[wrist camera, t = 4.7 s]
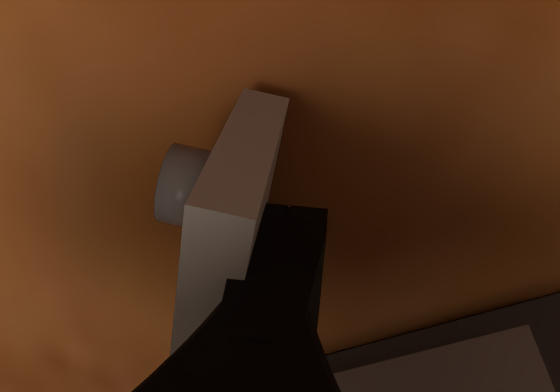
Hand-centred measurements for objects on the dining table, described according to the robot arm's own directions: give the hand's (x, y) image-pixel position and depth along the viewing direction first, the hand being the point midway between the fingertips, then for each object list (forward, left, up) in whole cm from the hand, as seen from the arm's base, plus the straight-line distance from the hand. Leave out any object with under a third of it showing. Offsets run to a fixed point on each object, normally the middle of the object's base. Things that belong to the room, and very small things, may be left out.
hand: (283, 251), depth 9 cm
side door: (0, -2, -1) cm, 3 cm away
